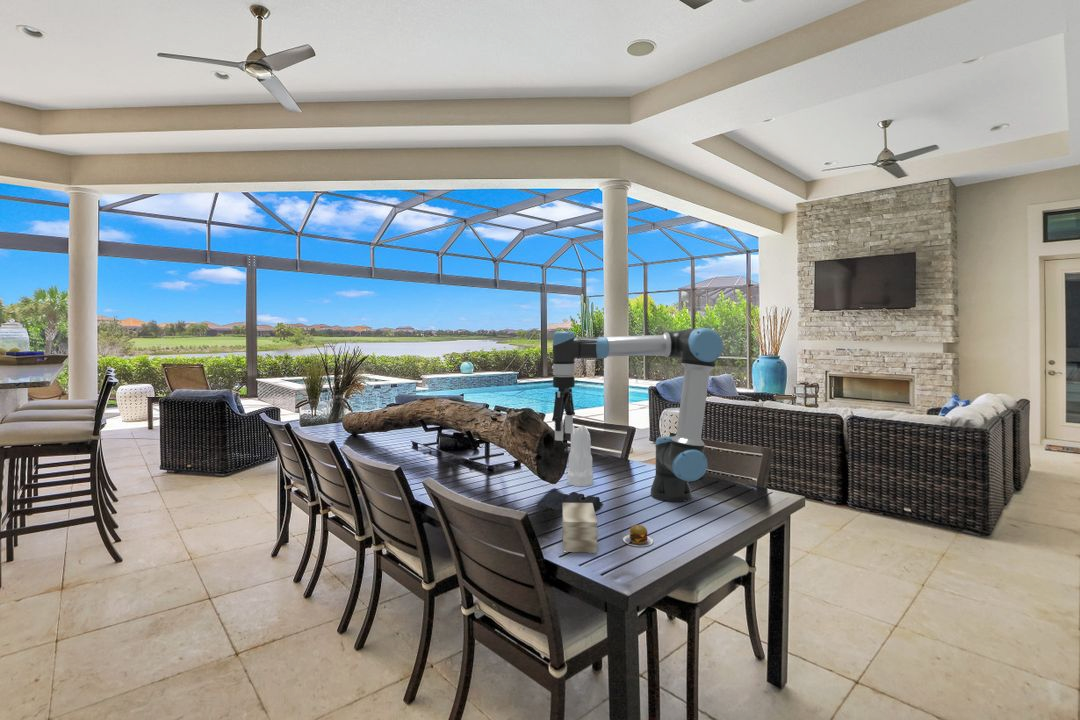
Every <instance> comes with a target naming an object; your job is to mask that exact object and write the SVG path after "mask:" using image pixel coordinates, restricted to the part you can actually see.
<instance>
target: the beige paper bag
mask: <svg viewBox="0 0 1080 720" xmlns="http://www.w3.org/2000/svg"><path fill="white" fill-rule="evenodd" d="M561 512H562V514H561V515H562V520H561V521H562V523H561V525H562V527H561V529H562V530H561V531H562V549H563V551H566V552H565V553H568V552H588V553H587V554H596V553H598V520H597V515H596V512H595V511H594V507H593V503H562V511H561Z"/></svg>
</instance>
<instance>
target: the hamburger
mask: <svg viewBox="0 0 1080 720" xmlns="http://www.w3.org/2000/svg"><path fill="white" fill-rule="evenodd" d="M629 537H630V538H629ZM627 539H629V540H630V542H631V543H633V544H630V543H628V542H627V541H626V540H627ZM622 540H623V542H624V543H625V544H627V545H629V546H633V547H641V548H642V547H648V546H651V545H653V543H654V540H653V538H651V537H649V536H648V529H647V527H645V526H643V525H642V524H635V525H632V526H631V527H630V530H629V534H627V535H624V537H622ZM648 541H649V542H650V543H649V544H646V543H647V542H648ZM644 544H646V545H644Z"/></svg>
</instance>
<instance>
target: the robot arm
mask: <svg viewBox="0 0 1080 720" xmlns="http://www.w3.org/2000/svg"><path fill="white" fill-rule="evenodd" d="M552 336H553V337H552V366H551V369H552V374H553V377H552V386H553V388H555V389H556V388H557V390H556V391H555V393H554V394H555V395H554V403H553V404H554V405H553V412H552V413H553V414H552V418H551V421H552V422H554V441H559V442H560V441H561V442H563V441H564V434H570V435H571V434H572V433H573V426H574V423H573V422H574V421H573V420H574V416H575V415H576V412H575V407H574V400H573V388H574V387H575V385H576V384H575V382H576V380H575V376H574V375H575V374H576V372H575V368H576V367H575V366H576V365H575V360H576V359H577V360H578V359H583V360H584V359H587V360H588V359H591V360H592V359H595V360H596V359H597V360H600V359H606V358H608V357H634V356H635V357H636V356H641V357H643V356H664V357H665V358H676V359H677V358H678V359H681V362H680V365H681V366H682V367H683V368H684V370H683V371H684V373H683V379H682V388H681V395H680V396H681V397H680V404H679V412H678V418H677V426H676V433H675V435H674V436H668V435H667V436H658V437H656V440H655V445H654V446H655V475H654V478H653V482H652V484H651V487H650V496H651V497H652V498H654V499H657V500H660V501H663V500H666V501H665V502H671V501H681V502H685V501H684V500H687V501H689V500H691V499H692V489H691V487H690V482H695V481H698V480H699V479H700V478H702V477H703V476H704V475H705V474H706V472H707V469H708V459H707V457H706V455H705V454H704V453H705V446H706V443H704V441H703V440H702V433H703V427H704V426H703V425H704V420H705V419H704V418H705V411H706V410H705V409H706V402H707V397H708V396H707V394H708V387H709V379H710V373H711V372H712V371H713V370H714V369H715V368H716V362H717V359H719V358H720V356H721V355H722V353H723V350H724V343H723V339H722V337H721V336H720V334H719V333H718V332H717V331H715V330H714V329H711V328H707V327H698V328H697V327H696V328H688V329H687V328H686V329H682V330H676V331H669V332H668V331H666V332H664V333H663V334H651V335H650V334H649V335H648V334H647V335H623V336H622V335H620V336H619V335H618V336H617V335H616V336H615V335H614V336H582V337H580V336H579V337H578V336H576V335H575V332H574V331H555V332H554V333H553V335H552ZM564 412H565V415H564ZM563 418H564V421H563ZM690 498H691V499H690ZM688 499H689V500H688Z"/></svg>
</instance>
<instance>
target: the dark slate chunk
mask: <svg viewBox="0 0 1080 720" xmlns="http://www.w3.org/2000/svg"><path fill="white" fill-rule="evenodd" d="M562 503H593V507H594V511H596V512H598V510H600V509H601V508H602V507H603V506H604V503H603V502H602V501H601V498H600V497H599V496H593V495H587V496H586V497H585V494H583V493H578V492H576V491H572V492H570V493H569V494H566V493H562V492H558V491H550V492H549V493H547V494H546V495H545V496H543V497H542V498H541V499H540V500H539V501H538V502H537V503H536V505H539V506H538V507H541V506H546V507H549V508H552V509H551V510H553V509H555V510H554V511H557V510H559V512H562ZM546 507H545V508H546ZM549 508H548V509H549Z"/></svg>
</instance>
